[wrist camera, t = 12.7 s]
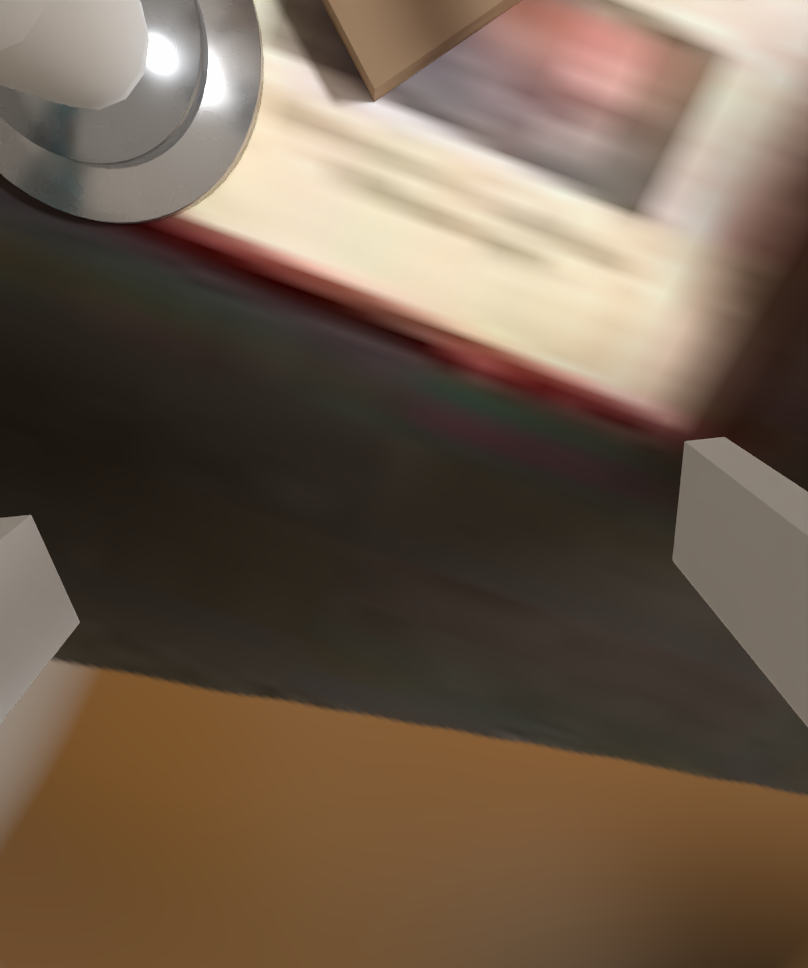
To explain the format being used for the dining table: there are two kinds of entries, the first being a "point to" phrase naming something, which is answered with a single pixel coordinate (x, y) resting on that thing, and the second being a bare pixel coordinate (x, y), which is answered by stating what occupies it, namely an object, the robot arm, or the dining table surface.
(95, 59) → the foam cup
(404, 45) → the stand
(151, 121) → the grey plate
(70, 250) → the dining table surface
